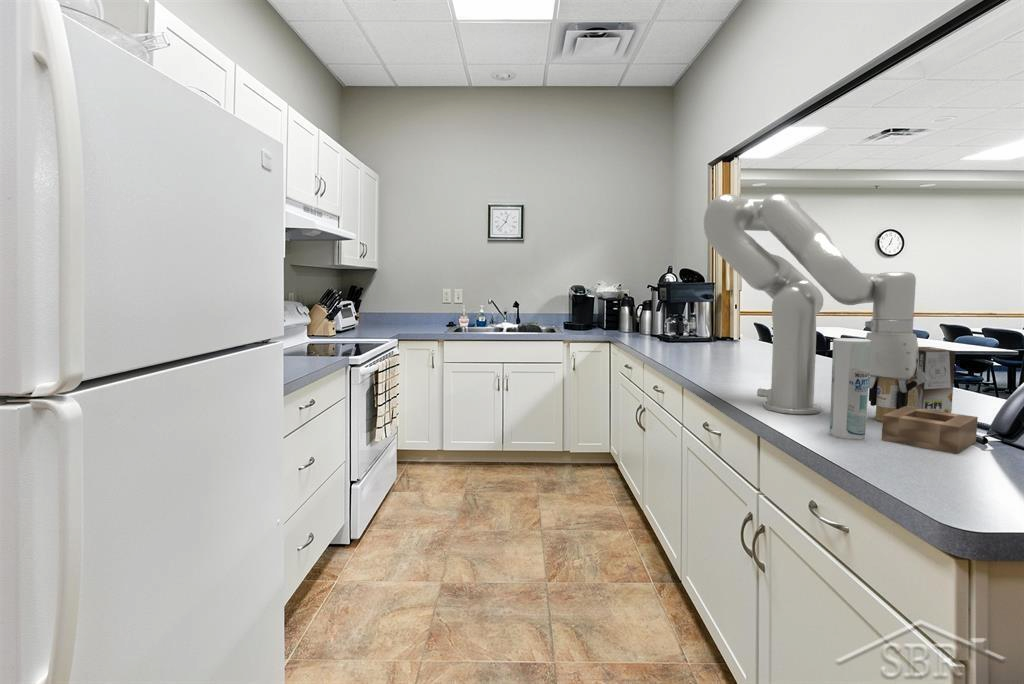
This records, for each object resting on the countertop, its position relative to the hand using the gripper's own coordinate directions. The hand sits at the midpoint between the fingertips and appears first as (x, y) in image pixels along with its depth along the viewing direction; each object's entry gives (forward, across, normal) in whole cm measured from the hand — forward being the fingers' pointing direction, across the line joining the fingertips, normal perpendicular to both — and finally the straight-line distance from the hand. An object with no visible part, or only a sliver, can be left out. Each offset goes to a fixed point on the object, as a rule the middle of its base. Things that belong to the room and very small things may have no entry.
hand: (887, 406), depth 120 cm
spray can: (+4, -1, -20) cm, 20 cm away
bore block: (+3, +11, -12) cm, 17 cm away
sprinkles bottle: (+4, 0, 0) cm, 4 cm away
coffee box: (+4, +4, +11) cm, 12 cm away
